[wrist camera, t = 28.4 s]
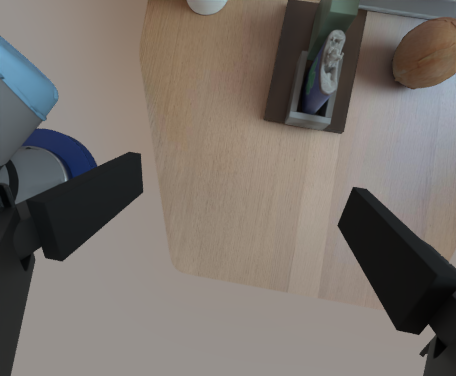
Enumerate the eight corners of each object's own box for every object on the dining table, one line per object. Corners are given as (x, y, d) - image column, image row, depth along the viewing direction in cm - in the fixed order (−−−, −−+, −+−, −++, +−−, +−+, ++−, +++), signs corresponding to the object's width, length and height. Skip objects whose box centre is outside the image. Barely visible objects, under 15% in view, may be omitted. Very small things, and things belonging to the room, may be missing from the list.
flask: (314, 118, 37) (343, 88, 27) (297, 116, 38) (319, 85, 27) (322, 67, 38) (354, 16, 27) (305, 65, 38) (330, 14, 27)
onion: (415, 81, 41) (495, 59, 31) (385, 104, 38) (462, 87, 29) (403, 29, 38) (488, -13, 28) (370, 51, 35) (450, 12, 26)
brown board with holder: (263, 122, 39) (271, 93, 28) (287, 4, 39) (305, -71, 28) (340, 136, 38) (381, 112, 27) (363, 15, 39) (413, -58, 27)
